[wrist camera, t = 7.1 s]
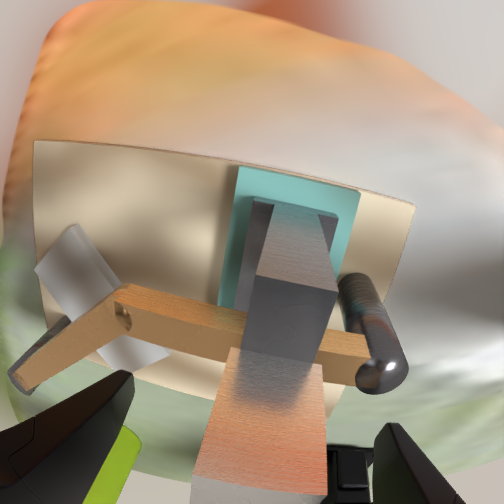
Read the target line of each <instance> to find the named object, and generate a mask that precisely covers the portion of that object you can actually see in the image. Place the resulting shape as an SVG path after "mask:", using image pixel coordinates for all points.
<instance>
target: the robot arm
mask: <svg viewBox="0 0 504 504" xmlns="http://www.w3.org/2000/svg"><path fill="white" fill-rule="evenodd" d="M134 393H135V387H134V376H133V374H132V373H131V372H129V371H126V370H123V369H120V370H117V371H116V372H114V373H112V374H110V375H109V376H107V377H105V378H103V379H102V380H100V381H98V382H96V383H94V384H93V385H91V386H89V387H87V388H85V389H84V390H82V391H80V392H78V393H76V394H74V395H73V396H71V397H69V398H67V399H65V400H63V401H62V402H60V403H58V404H56V405H54V406H52V407H50V408H49V409H47V410H45V411H43V412H41V413H39V414H37V415H36V416H35V417H34V416H33V417H31V418H29V419H28V420H26V421H24V422H21V423H19V424H17V425H15V426H14V427H11V428H8V429H6V430H3V431H1V432H0V504H83V502H84V500H85V498H86V496H87V494H88V492H89V490H90V488H91V486H92V484H93V482H94V481H95V479H96V477H97V475H98V473H99V471H100V469H101V467H102V465H103V464H104V462H105V460H106V458H107V456H108V454H109V452H110V450H111V449H112V447H113V445H114V443H115V441H116V439H117V437H118V435H119V433H120V430H121V428H122V425H123V423H124V420H125V417H126V415H127V412H128V410H129V407H130V405H131V402H132V400H133V397H134ZM326 451H327V496H326V497H325V498H324V499H323V500H322V501H321V502H320V503H319V504H466V503H465V502H464V501H463V500H462V498H461V497H460V496H459V495H458V494H456V491H455V490H454V489H453V488H452V486H451V485H450V484H449V483H448V482H447V480H446V479H445V478H444V477H443V476H442V474H441V473H440V472H439V471H438V470H437V468H436V467H435V466H434V465H433V464H432V462H431V461H430V460H429V459H428V458H427V456H426V455H425V454H424V453H423V451H422V450H421V449H420V448H419V447H418V445H417V444H416V443H415V442H414V441H413V439H412V438H411V437H410V436H409V435H408V433H407V432H406V431H405V430H404V429H403V427H402V426H401V425H400V424H399V423H386V424H385V425H384V427H383V428H382V430H381V431H380V432H379V434H378V435H377V436H376V438H375V441H374V449H354V448H339V447H327V446H326ZM372 463H373V476H372V489H373V502H372V503H371V500H370V491H369V477H368V467H369V466H370V465H371V464H372Z"/></svg>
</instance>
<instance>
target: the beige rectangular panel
mask: <svg viewBox="0 0 504 504" xmlns="http://www.w3.org/2000/svg"><path fill="white" fill-rule="evenodd" d="M255 196H258V197H263V198H268V199H273V200H278V201H282V202H287V203H292V204H296V205H301V206H305V207H310V208H314V209H319V210H323V211H327V212H332V213H336V214H337V216H338V218H339V220H338V224H337V228H336V231H335V235H334V239H333V242H332V246H331V250H330V253H329V256H330V260H331V263H332V267H333V271H334V275H335V279H336V283H337V286H338V284H339V282H340V280H341V279H342V278H343V277H345V276H346V275H348V274H351V273H356V272H359V273H363V274H366V275H367V276H368V277H370V279H371V280H372V282H373V284H374V286H375V288H376V291H377V293H378V295H379V297H380V299H381V301H382V304H383V303H384V300H385V298H386V295H387V293H388V290H389V287H390V285H391V282H392V280H393V277H394V274H395V271H396V269H397V266H398V263H399V260H400V257H401V254H402V251H403V248H404V245H405V242H406V239H407V236H408V233H409V230H410V227H411V223H412V220H413V217H414V213H415V210H416V206H415V205H413V204H412V203H410V202H406V201H403V200H400V199H396V198H393V197H389V196H386V195H382V194H378V193H375V192H371V191H367V190H364V189H360V188H356V187H352V186H348V185H344V184H340V183H336V182H332V181H328V180H324V179H320V178H315V177H311V176H307V175H302V174H298V173H293V172H288V171H284V170H279V169H274V168H269V167H264V166H259V165H254V164H248V163H243V162H237V161H232V160H226V159H220V158H214V157H208V156H202V155H195V154H188V153H182V152H174V151H167V150H159V149H151V148H143V147H134V146H125V145H115V144H104V143H93V142H79V141H64V140H44V139H43V140H36V141H34V153H33V220H34V236H35V248H36V258H37V266H36V268H35V269H34V271H35V273H36V274H37V276H38V277H39V282H40V289H41V296H42V302H43V307H44V313H45V318H46V323H47V328H48V330H49V329H50V328H51V327H52V326H53V325H55V324H56V323H57V322H58V321H59V320H60V319H61V318H62V317H63V316H65V315H67V316H68V318H69V319H70V320H71V321H72V322H73V321H74V320H76V319H77V318H78V317H79V316H81V315H82V314H83V313H85V312H86V311H87V310H88V309H90V308H91V307H92V306H94V305H95V304H96V303H97V302H99V301H100V300H101V299H103V298H104V297H105V296H107V295H108V294H109V293H111V292H112V291H113V290H115V289H116V288H117V287H119V286H120V285H121V284H123V283H132V284H135V285H139V286H143V287H146V288H150V289H154V290H158V291H161V292H165V293H169V294H173V295H177V296H181V297H185V298H189V299H193V300H197V301H201V302H205V303H209V304H213V305H218V306H222V307H226V308H231V309H233V308H234V302H235V297H236V291H237V286H238V280H239V275H240V269H241V263H242V258H243V252H244V247H245V241H246V236H247V231H248V225H249V220H250V214H251V209H252V203H253V199H254V198H255ZM327 329H333V330H338V331H344V332H345V329H344V325H343V320H342V315H341V311H340V306H339V302H338V297H337V299H336V302H335V305H334V308H333V311H332V313H331V316H330V319H329V322H328V325H327ZM84 358H85V359H88V360H90V361H93V362H95V363H98V364H100V365H103V366H106V367H108V368H111V369H113V370H114V371H115V372H116V371H117V370H120V369H123V370H126V371H129V372H131V373H132V374H133V376H134V377H136V378H139V379H142V380H145V381H148V382H151V383H154V384H157V385H160V386H164V387H167V388H170V389H174V390H177V391H181V392H184V393H188V394H191V395H195V396H199V397H203V398H207V399H210V400H215V398H216V395H217V392H218V388H219V385H220V382H221V379H222V375H223V372H224V369H225V365H226V363H223V362H218V361H214V360H210V359H206V358H202V357H199V356H195V355H191V354H187V353H184V352H180V351H176V350H173V349H169V348H166V347H162V346H159V345H156V344H152V343H149V342H146V341H143V340H139V339H136V338H133V337H130V336H127V335H124V334H123V335H121V336H119V337H118V338H116V339H114V340H113V341H111V342H109V343H108V344H106V345H104V346H102V347H101V348H99V349H97V350H96V351H94V352H92V353H91V354H89V355H87V356H86V357H84ZM345 386H346V385H340V384H333V383H326V382H323V389H324V405H325V421H327V420H328V418H329V416H330V415H331V413H332V411H333V409H334V407H335V406H336V404H337V402H338V400H339V398H340V396H341V394H342V392H343V390H344V388H345Z"/></svg>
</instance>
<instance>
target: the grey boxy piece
mask: <svg viewBox="0 0 504 504" xmlns="http://www.w3.org/2000/svg"><path fill="white" fill-rule="evenodd" d="M338 220H339V218H338V216H337V214H336V213H332V212H327V211H323V210H319V209H314V208H310V207H305V206H301V205H296V204H292V203H287V202H282V201H278V200H273V199H268V198H263V197H258V196H255V198H254V199H253V203H252V209H251V214H250V220H249V225H248V231H247V236H246V241H245V247H244V252H243V258H242V263H241V269H240V275H239V280H238V286H237V291H236V297H235V302H234V308H233V309H235V310H239V311H244V312H248V314H247V319H246V324H245V328H244V333H243V338H242V343H241V348H240V349H238V348H234V347H231V349H230V352H229V355H228V359H227V362H226V365H225V369H224V372H223V375H222V379H221V382H220V385H219V388H218V392H217V395H216V398H215V402H214V405H213V408H212V411H211V415H210V418H209V421H208V425H207V428H206V431H205V434H204V438H203V441H202V444H201V447H200V451H199V454H198V457H197V460H196V464H195V467H194V470H193V473H192V482H191V495H190V504H319V503H320V502H321V501H322V500H323V499H324V498H325V497H326V496H327V451H326V425H325V405H324V389H323V374H322V365H320V364H314V363H313V362H314V360H315V357H316V354H317V352H318V349H319V347H320V344H321V341H322V339H323V336H324V333H325V330H326V328H327V325H328V322H329V319H330V316H331V313H332V311H333V308H334V305H335V302H336V299H337V296H338V293H339V291H338V287H337V283H336V279H335V275H334V271H333V267H332V263H331V260H330V256H329V253H330V250H331V246H332V242H333V239H334V235H335V231H336V228H337V224H338Z"/></svg>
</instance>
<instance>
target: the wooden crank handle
mask: <svg viewBox="0 0 504 504" xmlns="http://www.w3.org/2000/svg"><path fill="white" fill-rule="evenodd" d="M337 287H338V291H339V293H338V296H337V297H338V302H339V306H340V311H341V315H342V320H343V325H344V329H345V332H344V331H338V330H333V329H327V328H326V330H325V333H324V336H323V339H322V341H321V344H320V347H319V349H318V352H317V354H316V357H315V360H314V362H313V363H314V364H320V365H322V374H323V382H326V383H333V384H340V385H348V386H356V387H357V388H358V389H359V390H360V391H362V392H363V393H366V394H371V395H377V394H383V393H386V392H389V391H391V390H393V389H395V388H396V387H398V386H399V385H400V384H401V383H402V382H403V381H404V380H405V378H406V376H407V374H408V370H409V367H408V363H407V360H406V358H405V355H404V353H403V350H402V348H401V345H400V343H399V341H398V338H397V336H396V333H395V331H394V329H393V326H392V324H391V322H390V319H389V317H388V315H387V313H386V310H385V308H384V306H383V304H382V301H381V299H380V297H379V295H378V293H377V291H376V288H375V286H374V284H373V282H372V280H371V279H370V277H368V276H367V275H366V274H363V273H359V272H356V273H351V274H348V275H346V276H345V277H343V278H342V279H341V280H340V282H339V284H338V286H337ZM247 314H248V312H244V311H239V310H235V309H231V308H226V307H222V306H218V305H213V304H209V303H205V302H201V301H197V300H193V299H189V298H185V297H181V296H177V295H173V294H169V293H165V292H161V291H158V290H154V289H150V288H146V287H143V286H139V285H135V284H132V283H123V284H121V285H120V286H119V287H117V288H116V289H115V290H113V291H112V292H111V293H109V294H108V295H107V296H105V297H104V298H103V299H101V300H100V301H99V302H97V303H96V304H95V305H94V306H92V307H91V308H90V309H88V310H87V311H86V312H85V313H83V314H82V315H81V316H79V317H78V318H77V319H76V320H74V321H73V322H72V321H71V320H70V319H69V318H68V316H67V315H65V316H63V317H62V318H61V319H60V320H59V321H58V322H57V323H56V324H55V325H53V326H52V327H51V328H50V329H49V330H48V331H47V332H46V333H45V334H44V335H43V336H42V337H41V338H40V339H39V340H38V341H37V342H36V343H35V344H34V345H33V346H32V347H31V348H30V349H29V350H28V351H27V352H26V353H25V354H24V355H23V356H22V357H21V358H20V359H19V360H18V361H17V362H16V363H15V364H14V365H13V366H12V367H11V368H10V369H9V370H8V376H9V378H10V380H11V382H12V383H13V384H14V386H15V387H16V388H17V389H18V390H19V391H21V392H22V393H23V394H25V395H28V396H30V395H31V394H32V393H33V392H34V390H35V389H36V388H37V387H38V386H39V385H40V383H42V382H43V381H45V380H47V379H48V378H50V377H52V376H54V375H55V374H57V373H59V372H60V371H62V370H64V369H65V368H67V367H69V366H70V365H72V364H74V363H76V362H77V361H79V360H81V359H82V358H84V357H86V356H87V355H89V354H91V353H92V352H94V351H96V350H97V349H99V348H101V347H102V346H104V345H106V344H108V343H109V342H111V341H113V340H114V339H116V338H118V337H119V336H121V335H123V334H124V335H127V336H130V337H133V338H136V339H139V340H143V341H146V342H149V343H152V344H156V345H159V346H162V347H166V348H169V349H173V350H176V351H180V352H184V353H187V354H191V355H195V356H199V357H202V358H206V359H210V360H214V361H218V362H223V363H226V362H227V359H228V355H229V352H230V349H231V347H234V348H238V349H240V348H241V343H242V338H243V333H244V328H245V324H246V319H247Z"/></svg>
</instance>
